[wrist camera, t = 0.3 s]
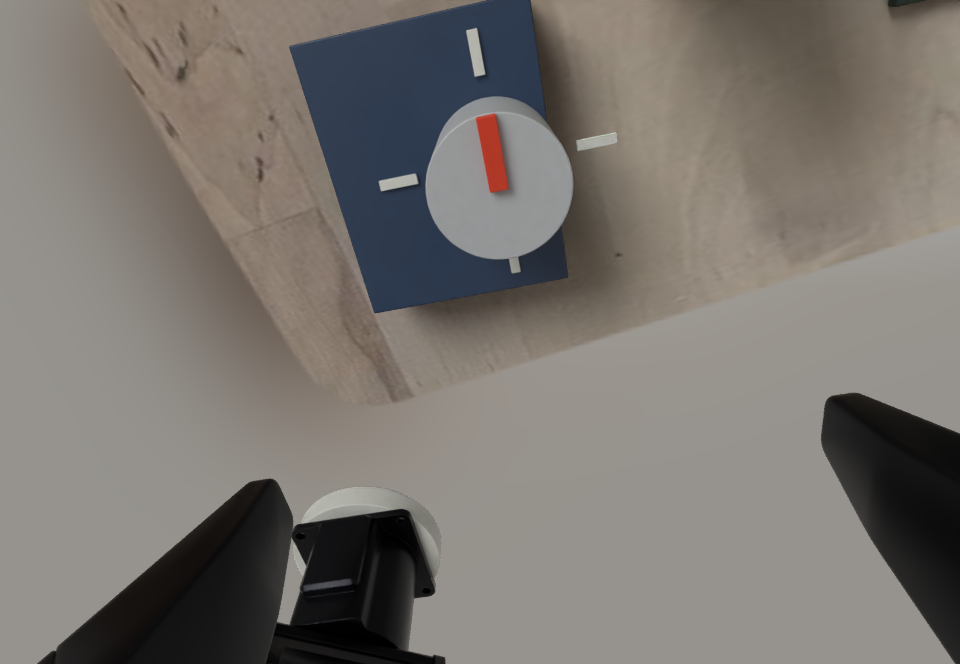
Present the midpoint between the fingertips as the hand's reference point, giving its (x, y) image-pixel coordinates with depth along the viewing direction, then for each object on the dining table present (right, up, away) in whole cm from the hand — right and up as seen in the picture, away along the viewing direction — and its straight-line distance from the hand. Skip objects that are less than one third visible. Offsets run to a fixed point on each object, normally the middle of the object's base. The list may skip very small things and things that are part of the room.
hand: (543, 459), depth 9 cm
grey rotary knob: (0, +8, +11) cm, 14 cm away
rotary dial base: (-1, +9, +14) cm, 17 cm away
